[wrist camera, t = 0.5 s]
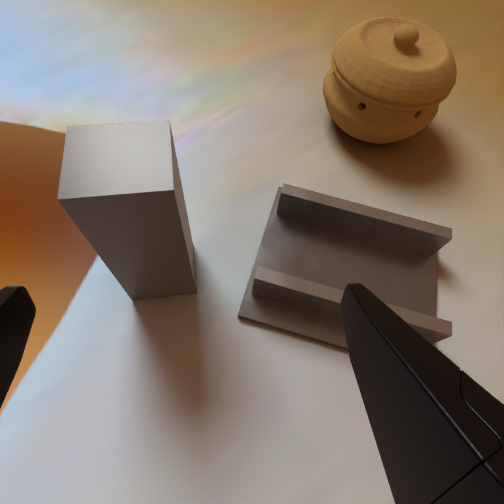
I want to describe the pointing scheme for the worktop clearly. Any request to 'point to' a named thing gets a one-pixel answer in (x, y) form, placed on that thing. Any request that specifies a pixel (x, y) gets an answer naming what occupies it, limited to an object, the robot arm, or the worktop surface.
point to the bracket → (342, 266)
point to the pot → (388, 79)
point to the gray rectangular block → (130, 204)
